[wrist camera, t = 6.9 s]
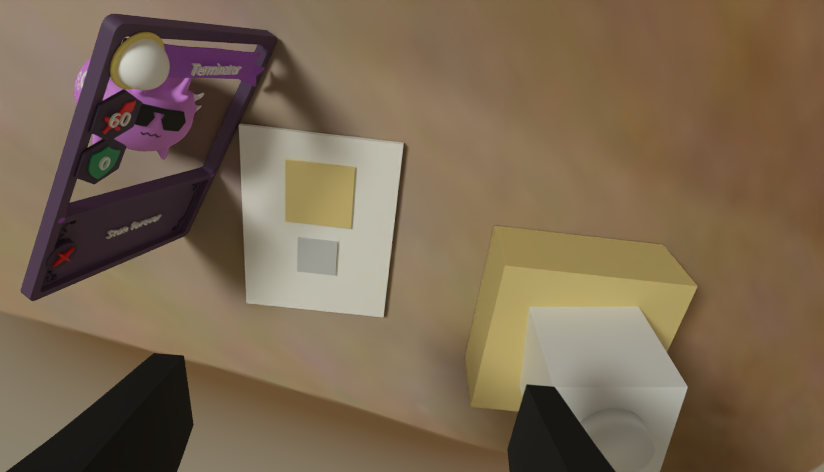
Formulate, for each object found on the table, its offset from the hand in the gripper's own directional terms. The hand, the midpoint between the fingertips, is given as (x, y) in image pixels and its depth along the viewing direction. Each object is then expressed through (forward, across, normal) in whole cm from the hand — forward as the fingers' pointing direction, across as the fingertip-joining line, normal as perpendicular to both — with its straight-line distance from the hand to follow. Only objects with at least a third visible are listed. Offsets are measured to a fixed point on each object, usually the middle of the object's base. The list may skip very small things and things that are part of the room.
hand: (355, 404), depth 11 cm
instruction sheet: (+11, +2, +2) cm, 11 cm away
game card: (+11, +8, -2) cm, 14 cm away
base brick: (+10, -8, +4) cm, 14 cm away
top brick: (+8, -8, +4) cm, 12 cm away
